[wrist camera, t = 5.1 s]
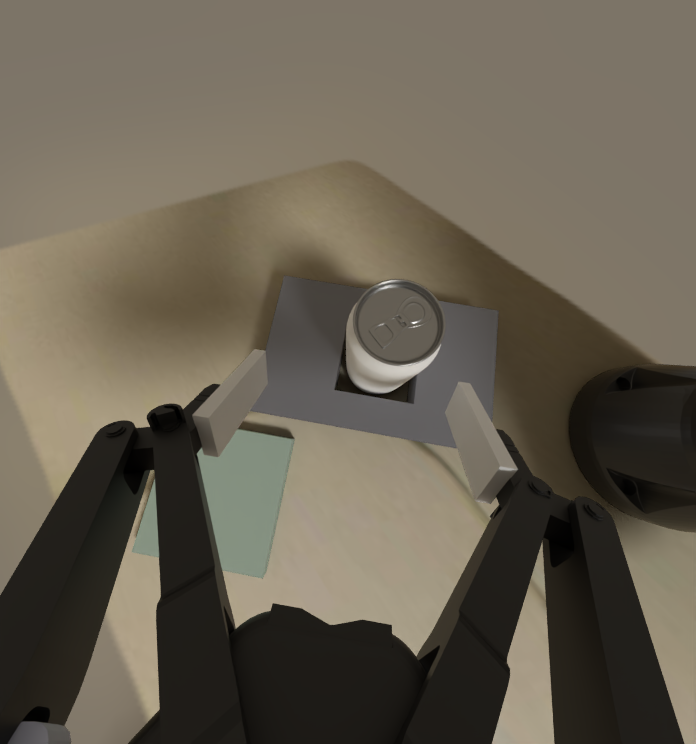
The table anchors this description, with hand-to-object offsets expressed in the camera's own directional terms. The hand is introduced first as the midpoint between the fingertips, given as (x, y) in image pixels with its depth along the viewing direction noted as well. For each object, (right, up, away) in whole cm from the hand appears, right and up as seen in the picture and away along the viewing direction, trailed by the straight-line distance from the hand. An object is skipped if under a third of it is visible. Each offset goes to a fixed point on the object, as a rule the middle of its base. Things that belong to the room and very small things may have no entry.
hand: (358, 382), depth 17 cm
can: (+2, +1, +10) cm, 10 cm away
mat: (-13, -11, +7) cm, 18 cm away
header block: (+2, +1, +10) cm, 10 cm away
